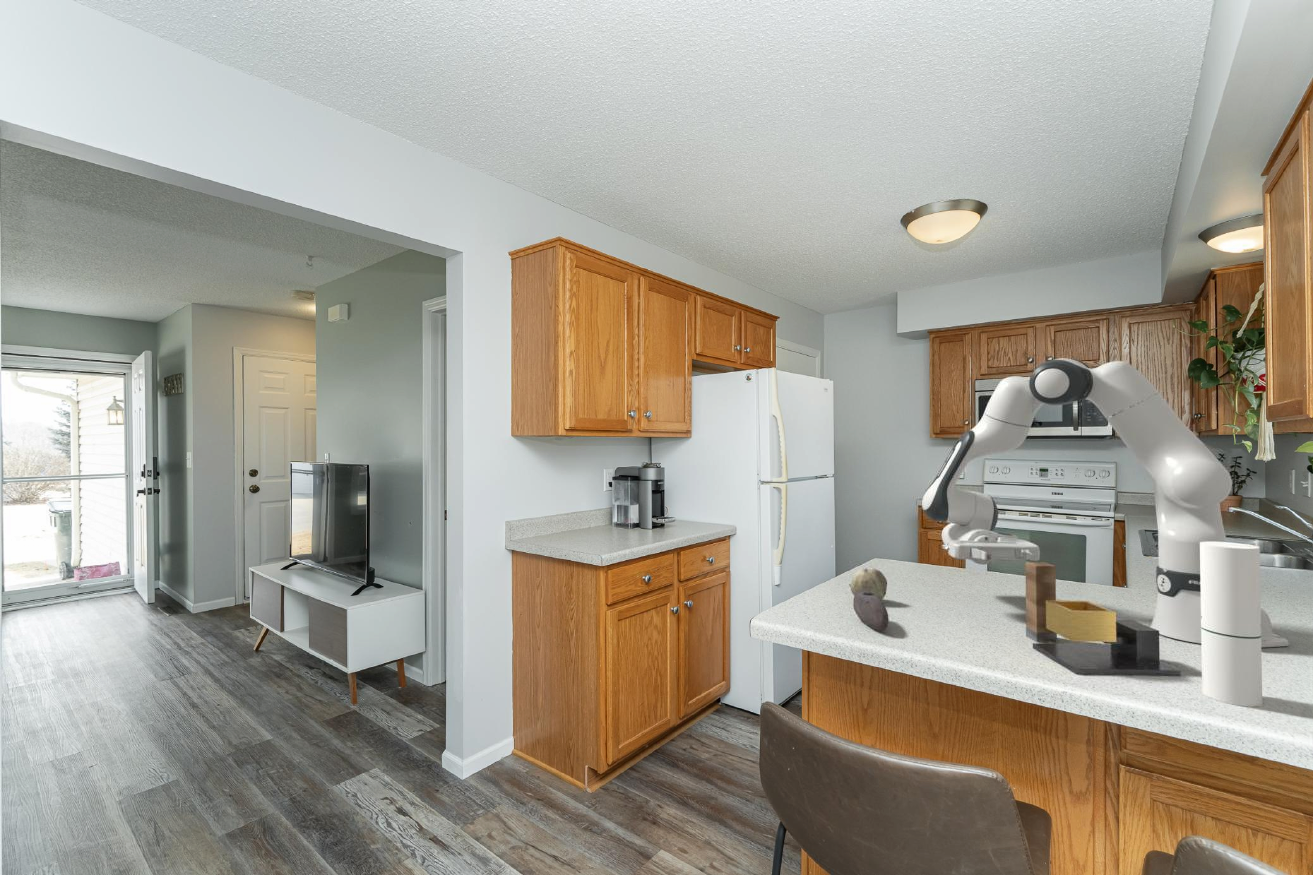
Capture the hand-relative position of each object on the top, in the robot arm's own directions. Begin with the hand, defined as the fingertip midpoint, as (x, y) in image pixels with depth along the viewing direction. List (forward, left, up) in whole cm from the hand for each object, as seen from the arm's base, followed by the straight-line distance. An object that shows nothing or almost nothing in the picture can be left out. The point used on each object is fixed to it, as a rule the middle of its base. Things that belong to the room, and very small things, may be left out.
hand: (1008, 556), depth 141 cm
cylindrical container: (-14, +41, -15) cm, 46 cm away
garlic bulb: (+28, -18, -15) cm, 36 cm away
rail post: (0, +12, -15) cm, 20 cm away
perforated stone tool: (+33, +4, -16) cm, 36 cm away
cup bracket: (-4, +25, -15) cm, 30 cm away
